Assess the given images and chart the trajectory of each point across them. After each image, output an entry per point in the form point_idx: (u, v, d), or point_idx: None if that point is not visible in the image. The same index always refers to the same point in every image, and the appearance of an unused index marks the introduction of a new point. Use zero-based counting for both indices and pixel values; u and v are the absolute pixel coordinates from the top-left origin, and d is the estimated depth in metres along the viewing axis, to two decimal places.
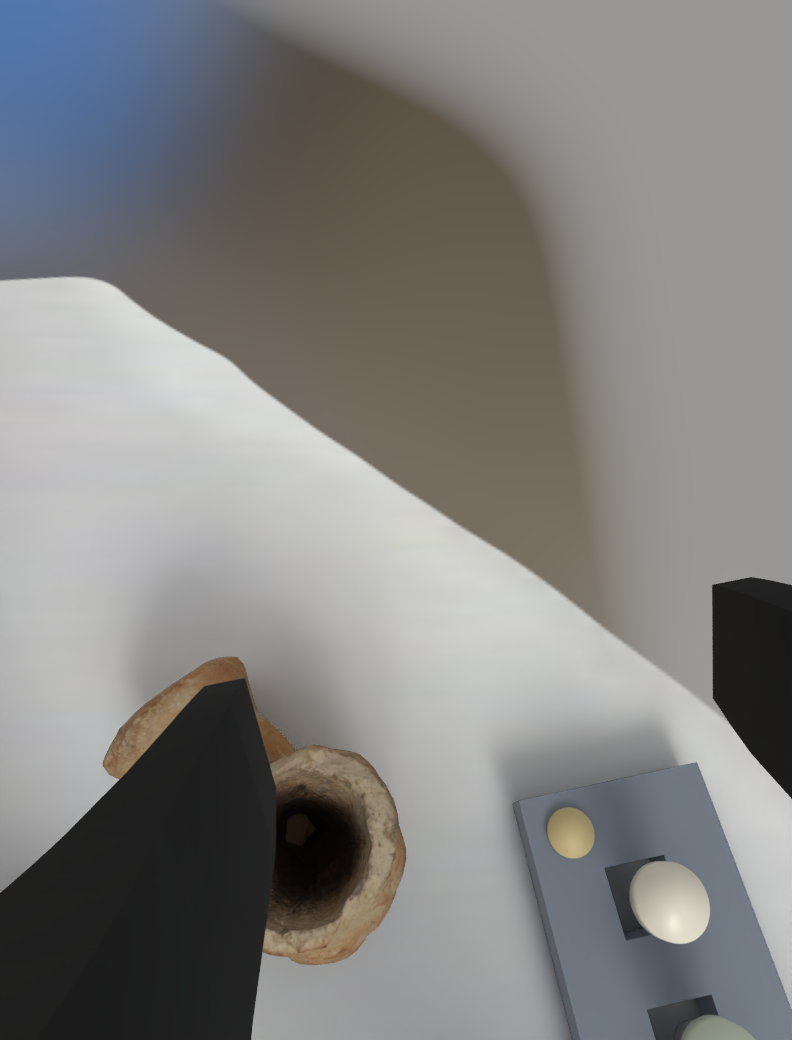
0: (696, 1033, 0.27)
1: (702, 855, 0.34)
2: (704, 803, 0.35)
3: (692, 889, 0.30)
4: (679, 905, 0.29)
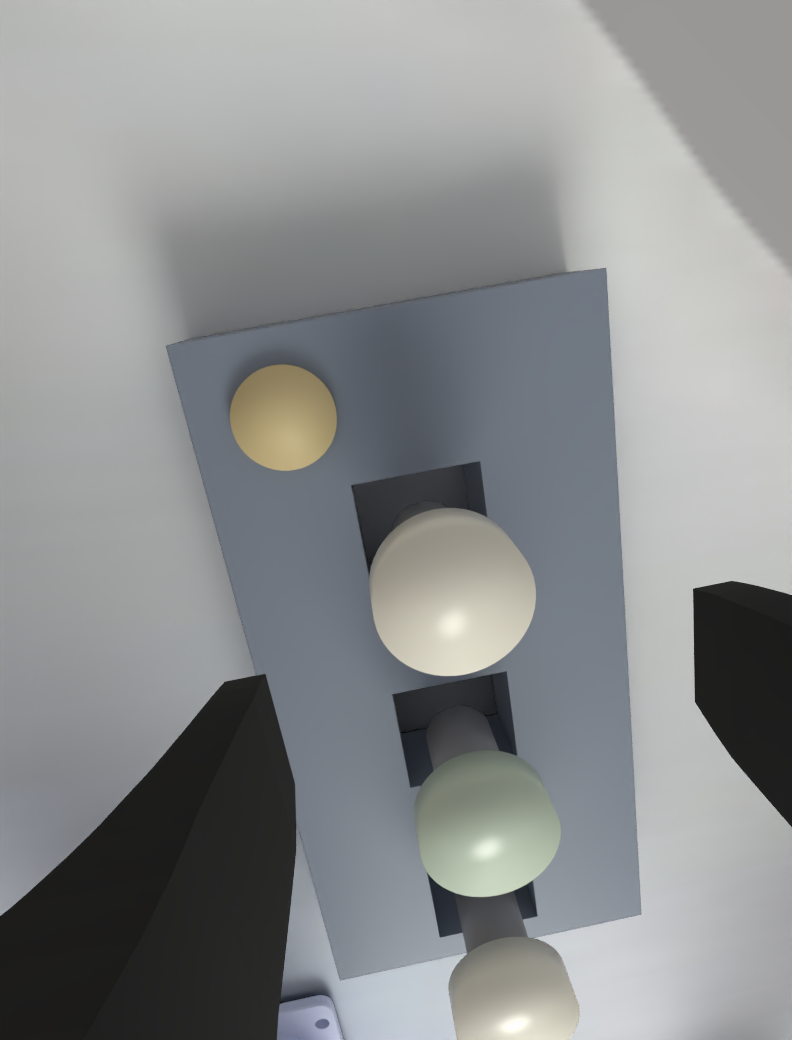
0: (445, 802, 0.14)
1: (556, 462, 0.16)
2: (593, 361, 0.16)
3: (505, 580, 0.13)
4: (466, 610, 0.13)
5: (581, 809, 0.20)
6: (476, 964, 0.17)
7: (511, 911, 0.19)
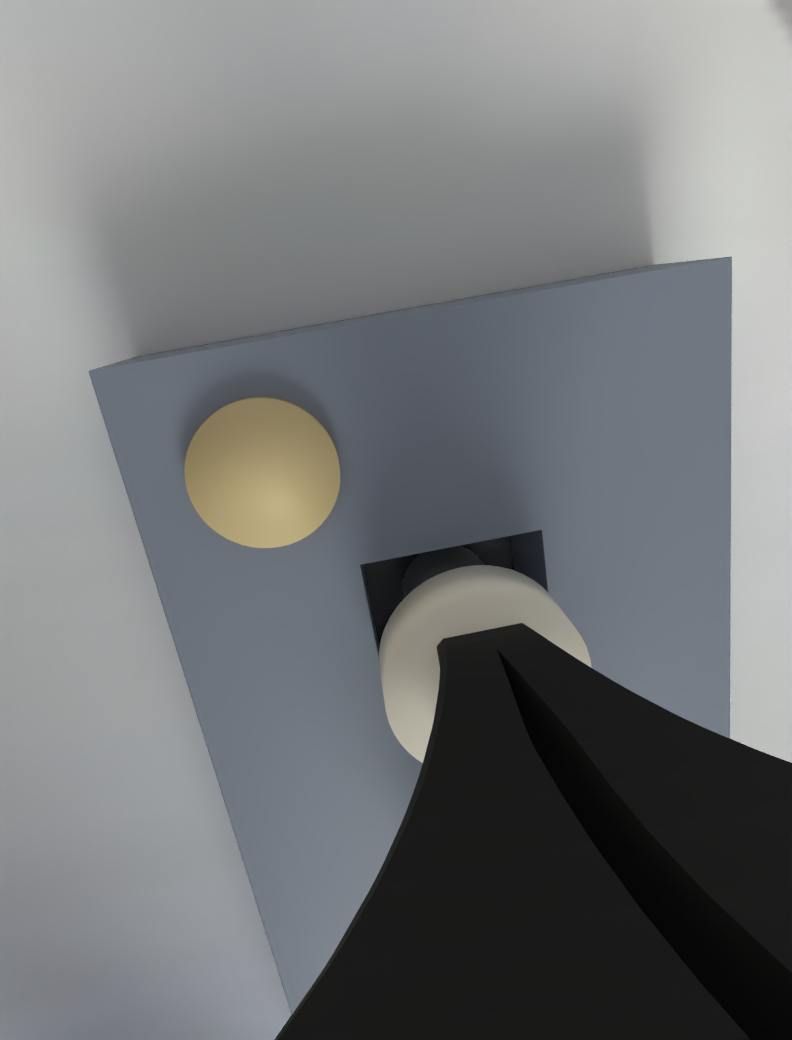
0: None
1: (648, 530, 0.12)
2: (706, 390, 0.11)
3: None
4: None
5: None
6: None
7: None
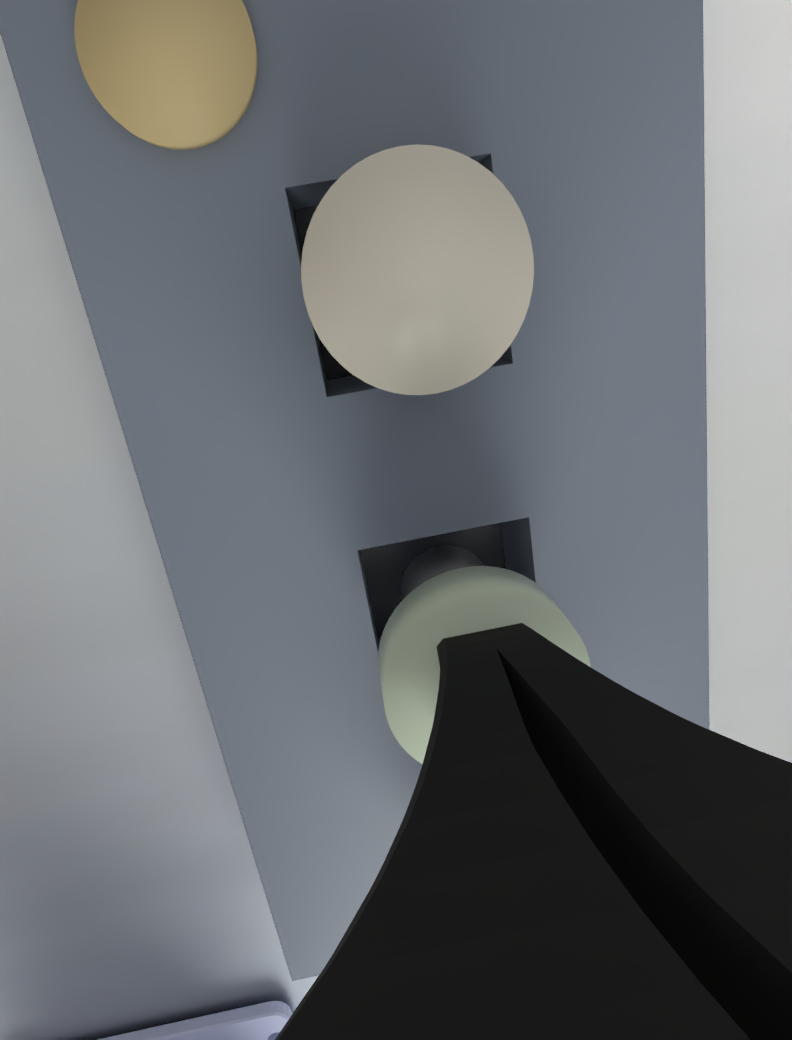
0: (420, 624, 0.09)
1: (611, 161, 0.10)
2: None
3: (490, 241, 0.09)
4: (436, 289, 0.09)
5: None
6: None
7: None
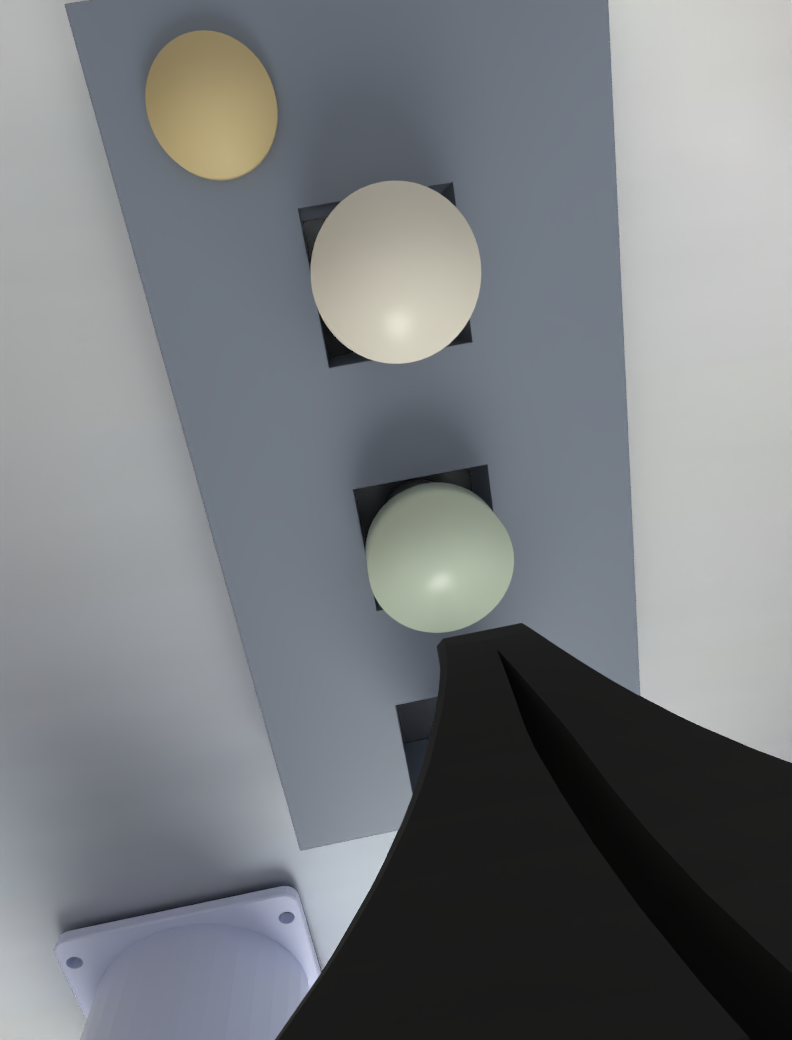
0: (393, 516, 0.14)
1: (545, 187, 0.14)
2: (589, 50, 0.13)
3: (448, 250, 0.12)
4: (409, 284, 0.12)
5: (575, 645, 0.17)
6: None
7: None
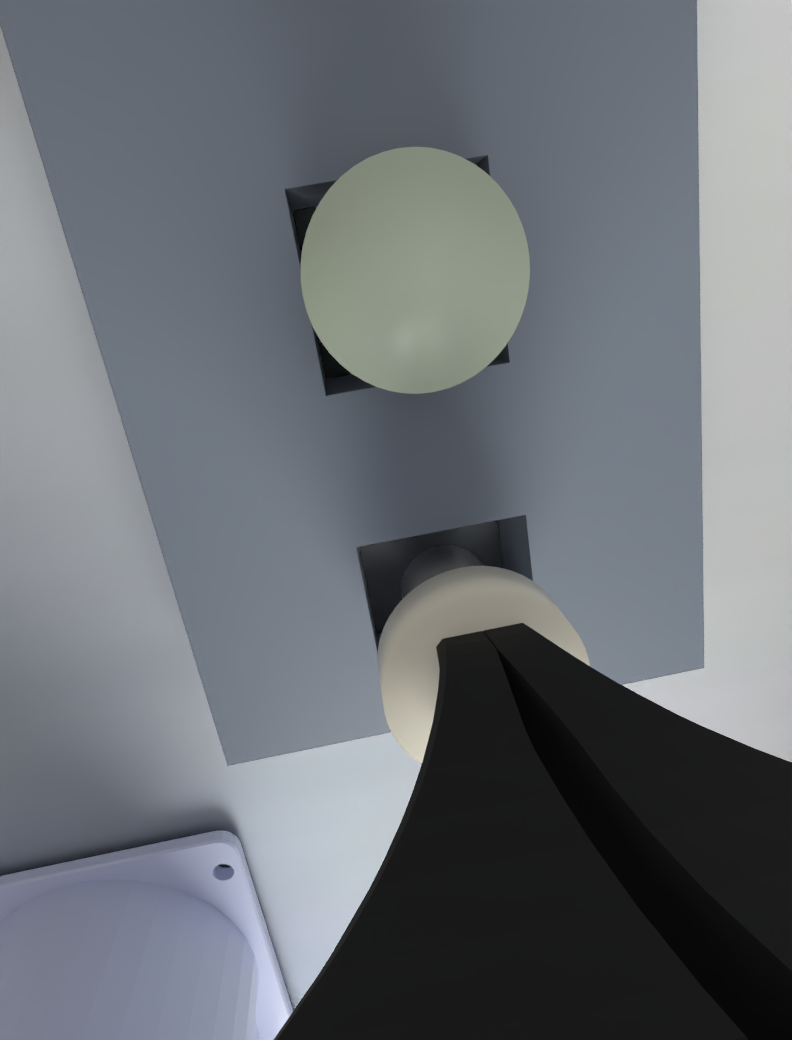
0: (338, 180, 0.09)
1: None
2: None
3: None
4: None
5: (614, 460, 0.12)
6: (419, 598, 0.10)
7: None
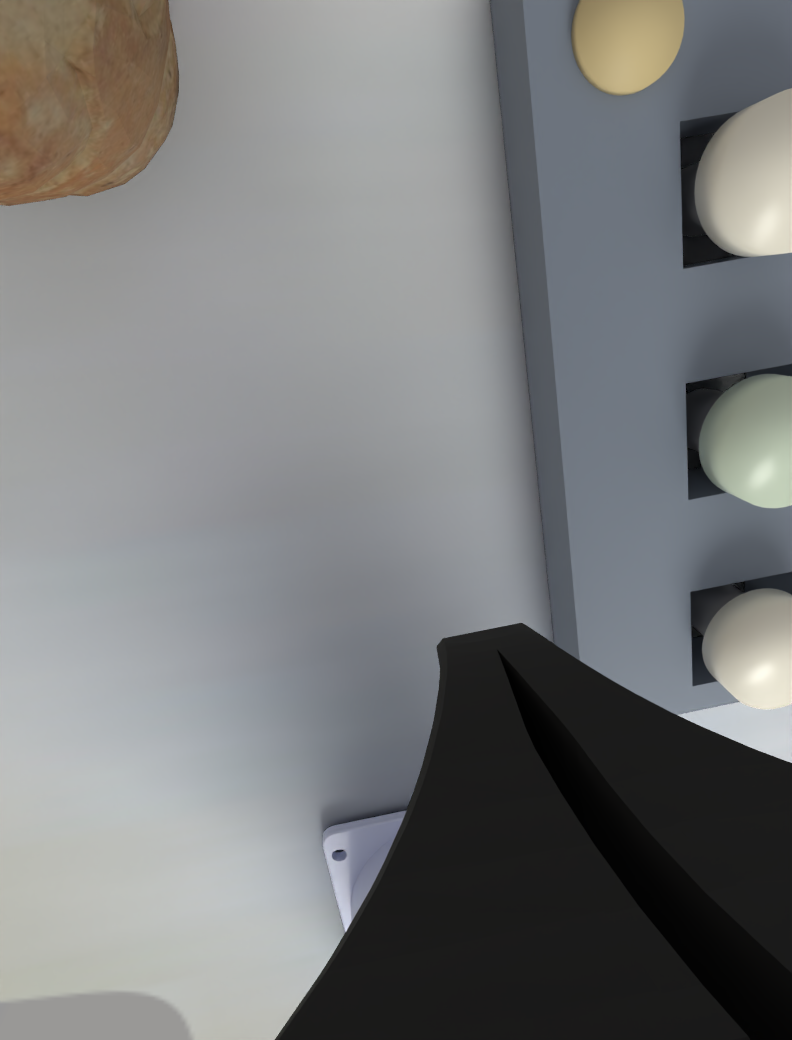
0: (753, 396, 0.15)
1: None
2: None
3: None
4: None
5: None
6: (738, 607, 0.18)
7: None
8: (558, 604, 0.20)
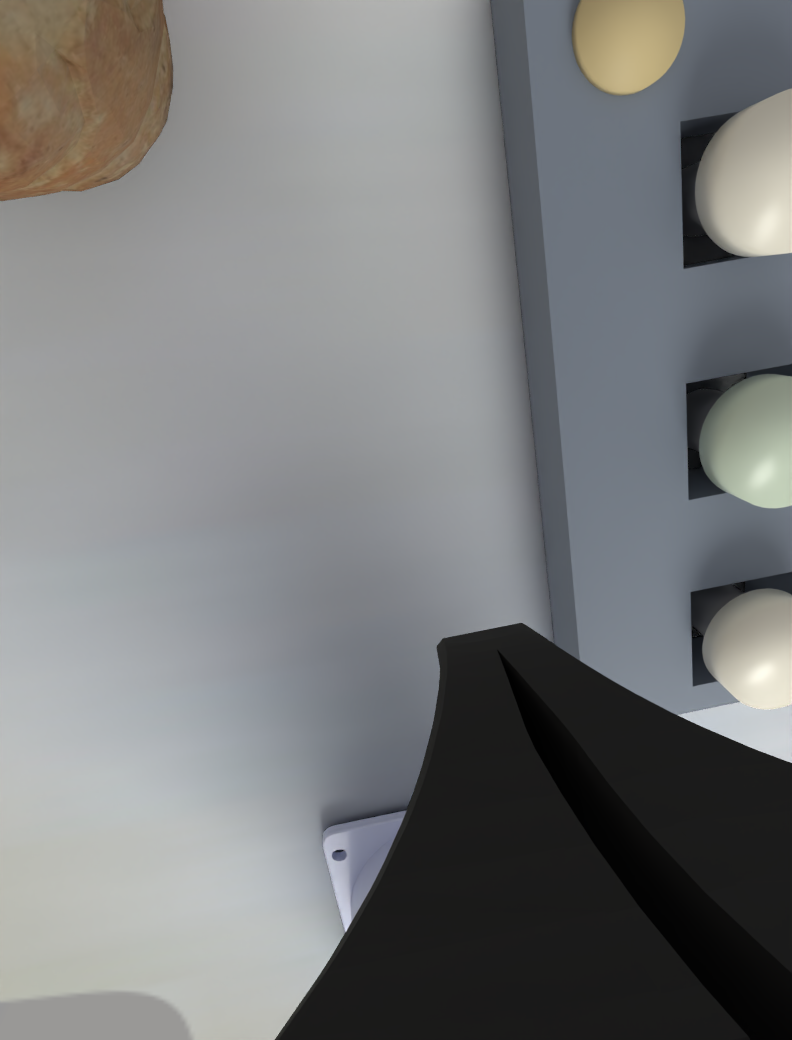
0: (753, 396, 0.15)
1: None
2: None
3: None
4: None
5: None
6: (738, 607, 0.18)
7: None
8: (558, 604, 0.20)
